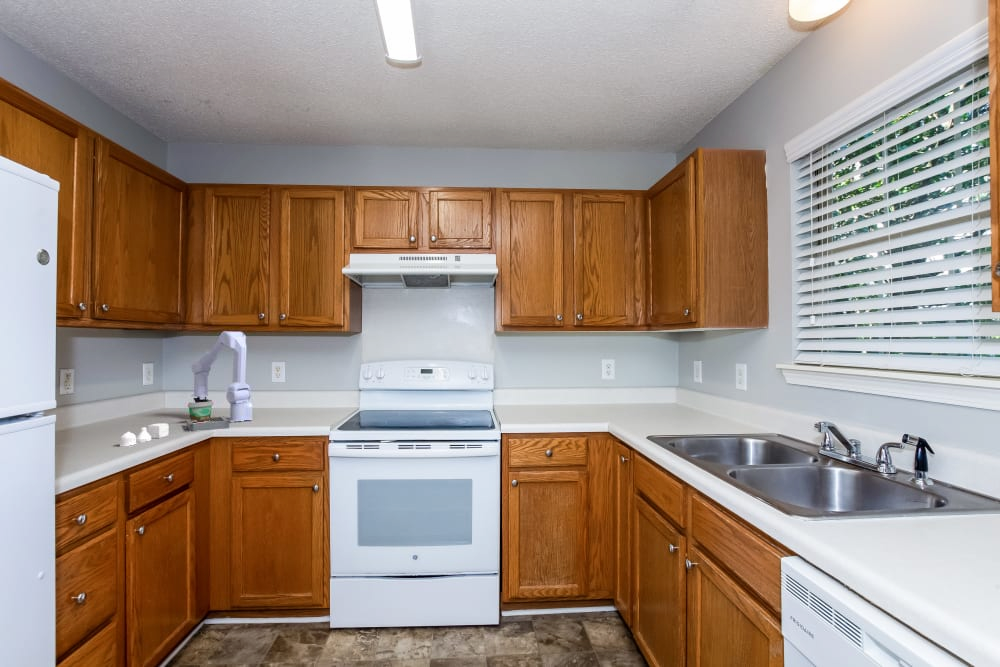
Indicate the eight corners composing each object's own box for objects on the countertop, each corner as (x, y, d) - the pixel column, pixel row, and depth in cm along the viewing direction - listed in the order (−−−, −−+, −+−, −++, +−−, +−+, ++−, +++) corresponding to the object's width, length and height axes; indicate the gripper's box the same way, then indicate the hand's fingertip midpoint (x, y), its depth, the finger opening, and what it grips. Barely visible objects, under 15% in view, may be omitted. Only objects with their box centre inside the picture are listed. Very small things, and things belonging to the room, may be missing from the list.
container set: (156, 436, 198) (156, 423, 198) (168, 436, 197) (168, 423, 198) (115, 447, 178) (115, 432, 178) (128, 447, 177) (129, 432, 178)
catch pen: (223, 422, 229) (223, 416, 229) (229, 427, 216) (229, 421, 216) (186, 425, 220) (186, 419, 220) (189, 431, 207) (189, 424, 207)
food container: (198, 424, 223) (198, 403, 223) (187, 424, 224) (187, 402, 225) (219, 420, 235) (219, 399, 235) (208, 419, 237) (208, 399, 237)
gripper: (190, 384, 244) (190, 411, 244) (192, 387, 233) (192, 415, 233) (206, 384, 249) (206, 410, 249) (209, 386, 237) (209, 413, 237)
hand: (200, 412), depth 241 cm, fingers open, 7 cm apart
